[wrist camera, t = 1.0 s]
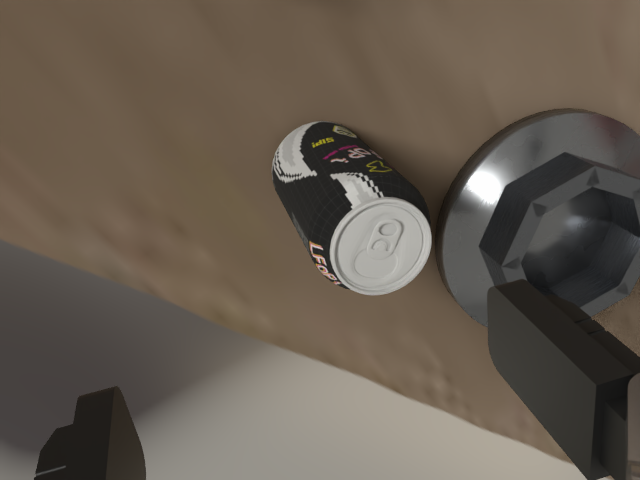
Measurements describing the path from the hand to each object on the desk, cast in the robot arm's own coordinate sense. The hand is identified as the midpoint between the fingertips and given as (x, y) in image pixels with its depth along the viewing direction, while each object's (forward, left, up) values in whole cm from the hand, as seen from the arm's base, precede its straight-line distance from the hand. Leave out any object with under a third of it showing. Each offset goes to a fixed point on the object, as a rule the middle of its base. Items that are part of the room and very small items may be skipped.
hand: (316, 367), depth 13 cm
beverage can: (-4, +6, -24) cm, 25 cm away
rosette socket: (-16, +18, -24) cm, 33 cm away
